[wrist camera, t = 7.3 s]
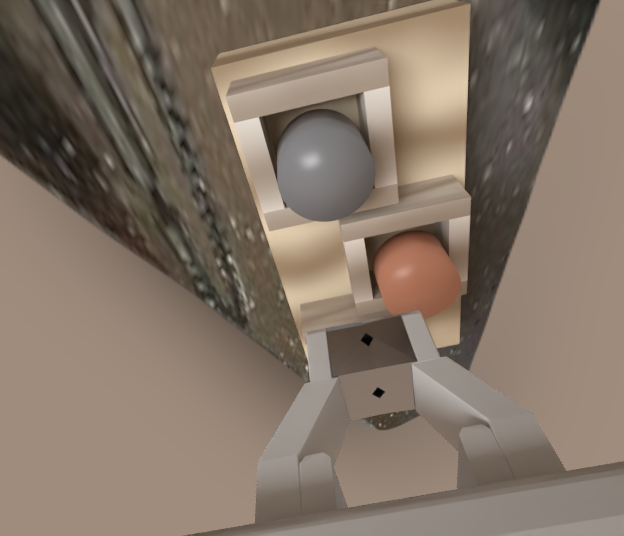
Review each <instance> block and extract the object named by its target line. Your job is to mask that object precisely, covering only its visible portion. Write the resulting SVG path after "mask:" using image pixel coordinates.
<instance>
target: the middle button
mask: <svg viewBox="0 0 624 536" xmlns="http://www.w3.org/2000/svg"><path fill="white" fill-rule="evenodd" d="M373 270H374V274H375V277H376V280H377V283H378V286H379V289H380V292H381V295H382V298H383V301H384V304H385V307H386V308H387V310H388V311H389V312H390V313H391V314H393V315H395V314H400V313H405V312H410V311H414V310H419V311H421V313H422V315H423V318H424V319H426V318H429V317H432V316H435V315H437V314H439V313H441V312H442V311H444V310H445V309H447V308H448V307H449V306H450V305H451V304H452V303H453V302H454V301H455V299H456V298H457V296H458V294H459V292H460V289H461V278H460V275H459V273H458V272H457V270H456V268H455V267H454V265H453V263H452V261H451V260H450V258H449V256H448V255H447V253H446V251H445V250H444V248H443V246H442V245H441V243H440V241H439V240H438V239H437V238H436V237H435V236H433V235H432V234H430V233H427V232H424V231H418V230H412V231H405V232H401V233H399V234H396V235H394V236H392V237H391V238H389V239H388V240H386V241H385V242H384V243H383V244H382V245H381V246H380V247H379V249H378V250H377V252H376V254H375V256H374V259H373Z"/></svg>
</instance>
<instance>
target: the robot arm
mask: <svg viewBox="0 0 624 536" xmlns="http://www.w3.org/2000/svg"><path fill="white" fill-rule="evenodd" d="M306 338H307V350H308V363H309V375H310V382H309V383H305V384H304V385H303V387H302V389H301V391H300V392H299V394H298V396H297V397H296V399H295V400H294V402H293V404H292V406H291V407H290V409H289V411H288V412H287V414H286V416H285V417H284V419H283V421H282V422H281V424H280V426H279V427H278V429H277V431H276V433H275V434H274V436H273V438H272V439H271V441H270V443H269V444H268V446H267V448H266V449H265V451H264V453H263V454H262V456H261V458H260V459H259V461H258V466H257V488H256V489H257V490H256V513H255V524H249V525H244V526H238V527H232V528H226V529H220V530H214V531H208V532H202V533H196V534H190V535H184V536H624V461H623V462H617V463H611V464H605V465H599V466H594V467H587V468H581V469H576V470H570V471H566V470H565V468H564V466H563V464H562V463H561V461H560V459H559V457H558V456H557V454H556V452H555V451H554V449H553V447H552V445H551V444H550V442H549V440H548V439H547V437H546V435H545V433H544V432H543V430H542V428H541V426H540V425H539V423H538V421H537V420H536V418H535V416H534V414H533V413H531V412H530V411H528V410H527V409H525V408H524V407H522V406H520V405H519V404H517V403H516V402H515V401H513V400H512V399H510V398H509V397H507V396H506V395H504V394H503V393H501V392H500V391H498V390H496V389H495V388H493V387H492V386H490V385H489V384H487V383H486V382H484V381H483V380H481V379H480V378H478V377H477V376H475V375H474V374H472V373H471V372H469V371H468V370H466V369H465V368H463V367H462V366H460V365H459V364H457V363H456V362H454V361H453V360H451V359H450V358H448V357H447V356H446V357H440V355H439V352H438V350H437V348H436V345H435V343H434V341H433V338H432V336H431V334H430V331H429V329H428V327H427V324H426V322H425V320H424V318H423V315H422V313H421V311H419V310H414V311H410V312H405V313H400V314H395V315H390V316H386V317H381V318H376V319H371V320H366V321H362V322H358V323H352V324H346V325H341V326H335V327H329V328H326V329H320V330H314V331H308V332H307V336H306ZM411 409H416V411H417V412H418V413H419V414H420V415H421V416H422V417H423V418H424V419H425V420H426V421H427V422H428V423H429V424H430V425H431V426H432V427H433V428H434V429H435V430H436V431H437V432H438V433H440V434H441V435H442V436H443V437H444V438H445V439H446V440H447V441H448V442H449V443H450V444H451V445H452V446H453V447H454V448H455V449H456V450H457V451H458V473H457V489H456V490H450V491H444V492H438V493H432V494H427V495H421V496H415V497H409V498H403V499H397V500H392V501H385V502H379V503H373V504H368V505H362V506H356V507H350V508H348V507H347V503H346V501H345V498H344V495H343V492H342V489H341V486H340V483H339V480H338V477H337V475H336V472H335V469H334V464H335V462H336V459H337V457H338V454H339V451H340V449H341V446H342V444H343V441H344V439H345V436H346V433H347V430H348V428H349V426H350V421H351V420H356V419H361V418H365V417H370V416H375V415H380V414H385V413H392V412H398V411H405V410H411Z"/></svg>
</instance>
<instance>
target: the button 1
mask: <svg viewBox="0 0 624 536" xmlns="http://www.w3.org/2000/svg"><path fill="white" fill-rule="evenodd" d="M375 175H376V174H375V164H374V160H373V158H372V155H371V153H370V151H369V149H368V147H367V145H366V143H365V141H364V139H363V137H362V135H361V133H360V132H359V130H358V128H357V126H356V125H355V124H354V123H353V122H352V120H351V119H349V118H348V117H347V116H345V115H344V114H342V113H340V112H337V111H334V110H330V109H314V110H310V111H307V112H304V113H302V114H300V115H299V116H297V117H295V118H294V119H293V120H292V121H291V122H290V123H289V124H288V125H287V126H286V127H285V129H284V130H283V132H282V134H281V136H280V139H279V142H278V146H277V180H278V188H279V191H280V194H281V196H282V198H283V200H284V202H285V203H286V204H287V206H288V207H289V208H290V209H291V210H292V211H294V212H295V213H296V214H298V215H299V216H301V217H304V218H306V219H309V220H313V221H319V222H329V221H335V220H339V219H342V218H344V217H347V216H349V215H350V214H352V213H354V212H355V211H356V210H358V209H359V208H360V207H361V206H362V205H363V204H364V203H365V201H366V200H367V199H368V197H369V195H370V194H371V192H372V189H373V186H374V182H375Z"/></svg>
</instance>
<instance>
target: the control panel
mask: <svg viewBox="0 0 624 536" xmlns="http://www.w3.org/2000/svg"><path fill="white" fill-rule="evenodd" d="M470 5H471V4H470V3H466V2H461V1H456V0H432V1H428V2H424V3H420V4H416V5H412V6H408V7H404V8H400V9H396V10H392V11H388V12H384V13H380V14H376V15H372V16H368V17H364V18H360V19H356V20H352V21H348V22H344V23H340V24H336V25H332V26H328V27H324V28H320V29H316V30H312V31H308V32H304V33H300V34H296V35H292V36H288V37H284V38H280V39H276V40H272V41H268V42H264V43H260V44H256V45H252V46H248V47H244V48H240V49H236V50H232V51H228V52H224V53H220V54H219V55H218V57H217V58H216V60H215V62H214V63H213V65H212V67H211V71H212V74H213V77H214V80H215V83H216V86H217V89H218V92H219V95H220V98H221V101H222V104H223V107H224V110H225V113H226V116H227V119H228V122H229V125H230V128H231V131H232V134H233V137H234V140H235V143H236V146H237V149H238V152H239V155H240V158H241V161H242V164H243V167H244V170H245V173H246V176H247V179H248V182H249V185H250V188H251V191H252V194H253V197H254V200H255V203H256V206H257V209H258V212H259V215H260V218H261V221H262V224H263V227H264V230H265V233H266V236H267V239H268V242H269V245H270V248H271V251H272V254H273V257H274V260H275V263H276V266H277V269H278V272H279V275H280V278H281V281H282V284H283V287H284V290H285V293H286V296H287V299H288V302H289V305H290V308H291V311H292V314H293V317H294V320H295V323H296V326H297V329H298V332H299V335H300V338H301V341H302V344H303V347H304V350H305V353H306V356H307V359H308V350H307V338H306V336H307V332H308V331H314V330H320V329H326V328H329V327H335V326H341V325H346V324H352V323H358V322H362V321H366V320H371V319H376V318H381V317H386V316H390V315H393V314H391V313H390V312H389V311H388V310H387V308H386V307H385V304H384V301H383V298H382V295H381V292H380V289H379V286H378V283H377V280H376V277H375V274H374V270H373V259H374V256H375V254H376V252H377V250H378V249H379V247H380V246H381V245H382V244H383V243H384V242H385V241H386V240H388V239H389V238H391V237H392V236H394V235H396V234H399V233H401V232H405V231H412V230H418V231H424V232H427V233H430V234H432V235H433V236H435V237H436V238H437V239H438V240H439V241H440V243H441V245H442V246H443V248H444V250H445V251H446V253H447V255H448V256H449V258H450V260H451V261H452V263H453V265H454V267H455V268H456V270H457V272H458V273H459V275H460V278H461V289H460V292H459V294H458V296H457V298H456V299H455V301H454V302H453V303H452V304H451V305H450V306H449V307H448V308H447V309H445V310H444V311H442V312H441V313H439V314H437V315H435V316H432V317H429V318H426V319H424V320H425V322H426V324H427V327H428V329H429V331H430V334H431V336H432V338H433V341H434V343H435V345H436V348H440V347H446V346H451V345H456V344H459V342H460V312H461V295H464V294H467V278H468V255H469V233H470V210H471V196H470V195H469V194H468V193H467V191H466V190H465V158H466V128H467V97H468V66H469V36H470ZM314 109H330V110H334V111H337V112H340V113H342V114H344V115H345V116H347V117H348V118H349V119H351V120H352V122H353V123H354V124H355V125H356V126H357V128H358V130H359V132H360V133H361V135H362V137H363V139H364V141H365V143H366V145H367V147H368V149H369V151H370V153H371V155H372V158H373V160H374V164H375V174H376V175H375V182H374V186H373V189H372V192H371V194H370V195H369V197H368V199H367V200H366V201H365V203H364V204H363V205H362V206H361V207H360V208H359V209H358V210H356V211H355V212H354V213H352V214H350V215H349V216H347V217H344V218H342V219H339V220H335V221H329V222H319V221H313V220H309V219H306V218H304V217H301V216H299V215H298V214H296V213H295V212H294V211H292V210H291V209H290V208H289V207H288V206H287V204H286V203H285V202H284V200H283V198H282V196H281V194H280V191H279V188H278V180H277V146H278V142H279V139H280V136H281V134H282V132H283V130H284V129H285V127H286V126H287V125H288V124H289V123H290V122H291V121H292V120H293V119H294V118H295V117H297V116H299V115H300V114H302V113H304V112H307V111H310V110H314Z"/></svg>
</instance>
